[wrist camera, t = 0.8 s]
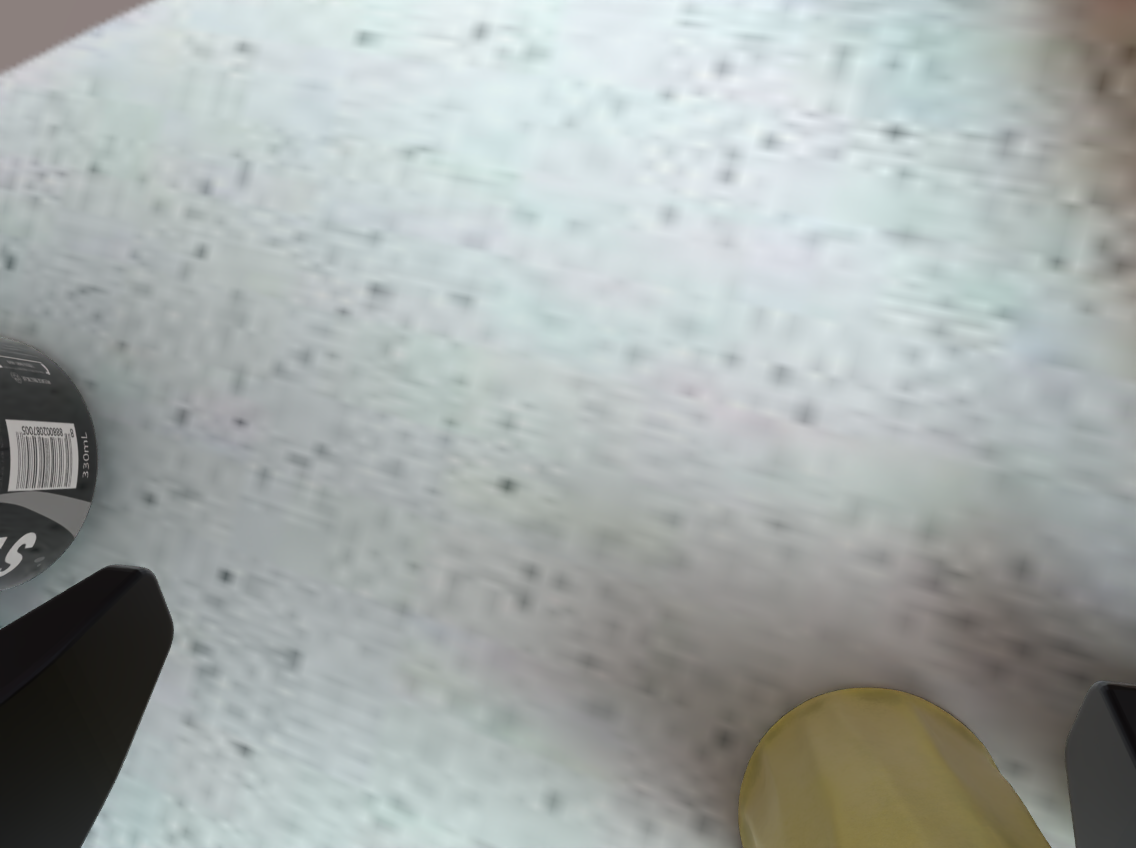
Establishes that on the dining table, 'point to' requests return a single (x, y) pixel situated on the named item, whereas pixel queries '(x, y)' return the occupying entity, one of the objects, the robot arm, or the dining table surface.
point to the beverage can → (41, 462)
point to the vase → (878, 780)
